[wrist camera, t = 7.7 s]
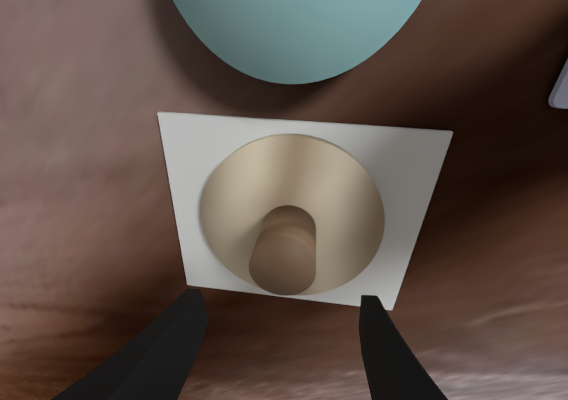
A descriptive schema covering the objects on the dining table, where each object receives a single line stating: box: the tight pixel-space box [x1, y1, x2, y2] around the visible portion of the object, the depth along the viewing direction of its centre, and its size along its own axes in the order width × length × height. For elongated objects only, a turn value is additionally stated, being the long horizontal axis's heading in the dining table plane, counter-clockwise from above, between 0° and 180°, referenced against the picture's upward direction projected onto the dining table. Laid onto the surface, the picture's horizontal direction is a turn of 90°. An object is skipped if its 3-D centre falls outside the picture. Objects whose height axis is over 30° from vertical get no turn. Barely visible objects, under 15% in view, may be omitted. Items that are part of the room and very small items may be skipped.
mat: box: [157, 112, 453, 310], centre depth 18 cm, size 17×14×1 cm
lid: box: [201, 134, 385, 296], centre depth 15 cm, size 12×12×5 cm
